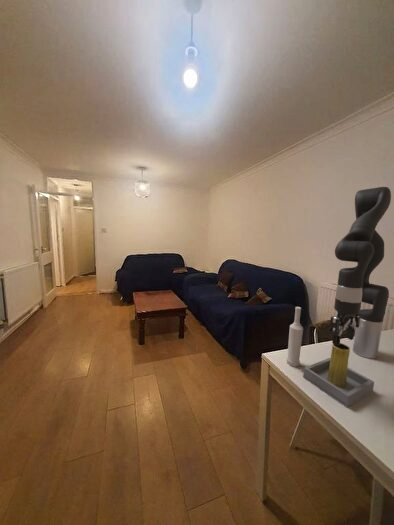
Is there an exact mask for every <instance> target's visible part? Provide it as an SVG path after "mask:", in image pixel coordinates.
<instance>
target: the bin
mask: <svg viewBox="0 0 394 525" xmlns="http://www.w3.org/2000/svg"><path fill="white" fill-rule="evenodd" d="M330 359H331V357H328V358H326V359H323V360H321V361H318V362H315V363H313V364H311V365H308V366H306V367H304V368H303V375H302V377H303V378H304V379H305V380H306V381H308V382H309V383H310V384H312V385H314V386H315V387H316V388H318V390H320V391H322V392H324V393H325V394H326V395H328V396H330V398H332V399H334V400H335V401H337V402H338V403H340V404H341V405H342V406H344V407H345V408H348V407H350V406H352V405H354V404H355V403H357V402H358V401H360V400H362V399H363V398H365V397H367V396H368V395H370V394H372V393H373V392H374V388H375V387H374V386H375V381H373V380H372V379H370V378H368V377H367V376H364V375H363V374H360V373H358V372H357V371H355V370H354V369H352V368H349V367H348V368H347V380H346V386H345V387H338V386H335V385H334V384H332V383H330V382H329V381H328V380H327V376H328V371H329V365H330Z"/></svg>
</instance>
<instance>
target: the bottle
mask: <svg viewBox="0 0 394 525" xmlns="http://www.w3.org/2000/svg"><path fill="white" fill-rule="evenodd" d="M301 312H302V307H300V306H295V312H294V320H293V321H294V322H293V323H292V324H290V325H289V330H288V331H289V333H288V345H287V357H286V363H287V364H288V365H289V366H291V367H295V368H297V367H299V366H300V361H301V360H300V356H301V348H302V342H303V334H304V333H303V332H304V327H303V326H302V324H301V323H300V322H301V321H300V319H301Z"/></svg>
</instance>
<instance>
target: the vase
mask: <svg viewBox="0 0 394 525" xmlns="http://www.w3.org/2000/svg"><path fill="white" fill-rule="evenodd" d="M350 350H351V348H350V346H348V345H347V344H344V343H341V342H340V345H338V346H337V345H335V344H333V343H332V348H331V353H330V358H331V359H330V365H329V371H328V376H327V380H328V381H329V382H330V383H332V384H334V385H335V386H338V387H345V386H346V380H347V368H349V367H348V366H349V357H350Z"/></svg>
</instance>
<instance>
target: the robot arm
mask: <svg viewBox="0 0 394 525" xmlns="http://www.w3.org/2000/svg"><path fill="white" fill-rule="evenodd" d="M391 192H392V191H391V189H390V187H388V186H380V187H379V186H378V187H373V188H371V187H370V188H366V189H360V190H358V191H357V192H355V195H354V196H355V197H354V211H355V220H354V222H353V223H352V224H351V227H350V229H349V231H348V233H346V235H345V236H344V237H343V238H341V240H339V241H338V243H337V244H336V246H335V249H334V255H335V258H336V259H337V260H338V261H342V262H349V263H350V262H351V263H352V262H353V263H357V265H356V266H353V267H343V268H340V269H339V272H338V278H337V285H336V289H335V296H334V306H333V309H334V311H336V312H337V314H336V316H334V315H332V316H330V322H329V327H328V328H329V329H328V333H330V334H332V340H331V343H332V345H333V344H335V345H337V346H338V345H340V343H341V339H342V338H341V337H342V336H341V335H342V333H343V332H344V331H346V335H345V337H346V339H348V340H350V341H353V343H352V345H353V346H352V351H353V353H355V354H356V355H358V356H360V357H363V358H366V359H376V358H378V355H379V354H378V353H379V349H380V348H379V347H380V341H381V334H382V330H383V322H384V318H385V316H386V315H385V314H386V312H387V311H386V309H387V306H388V305H387V304H388V300H389V297H390V296H389V295H390V293H389V292H390V291H389V288H388V287H386V286H383V285H380V284H374V283H370V276H371V274H372V273H373V271H374V270H375V269H376V268H377V267H378V266H379V265H380V264H381V262H382V261H383V260H384V258H385V242H384V239H383V237H382V236H381V235H380V234H379V233H378V232H377V230H376V228H377V225H378V224H379V222H380V221H381V219H382V218H383V216H384V215H385V214H386V212H387V211H388V210H389V207H390V205H391V201H392V193H391ZM362 303H365V304H368V305H372V308H367V309H366V308H364V309H363V308H362ZM361 308H362V309H361Z"/></svg>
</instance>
